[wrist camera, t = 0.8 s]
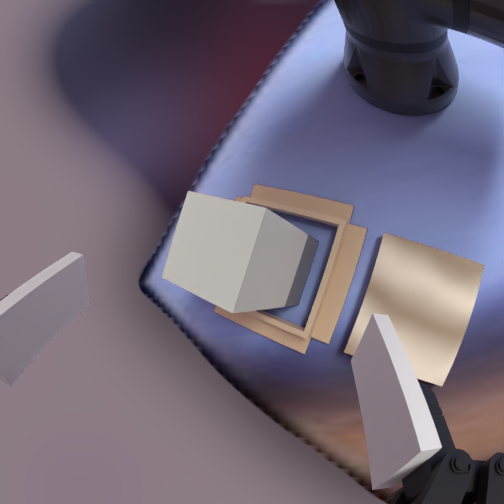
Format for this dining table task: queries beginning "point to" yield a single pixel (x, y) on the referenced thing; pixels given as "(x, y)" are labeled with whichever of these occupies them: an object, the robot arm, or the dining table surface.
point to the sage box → (238, 255)
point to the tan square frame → (334, 276)
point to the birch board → (421, 303)
